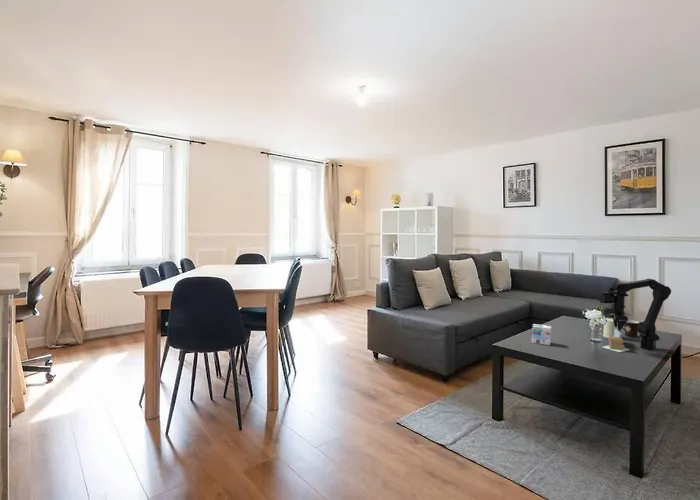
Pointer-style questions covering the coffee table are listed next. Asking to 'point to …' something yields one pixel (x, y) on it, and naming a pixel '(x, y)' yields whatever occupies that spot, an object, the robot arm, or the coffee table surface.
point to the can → (609, 328)
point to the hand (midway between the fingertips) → (617, 328)
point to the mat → (616, 349)
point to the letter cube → (616, 343)
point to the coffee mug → (631, 328)
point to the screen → (618, 335)
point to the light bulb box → (541, 334)
